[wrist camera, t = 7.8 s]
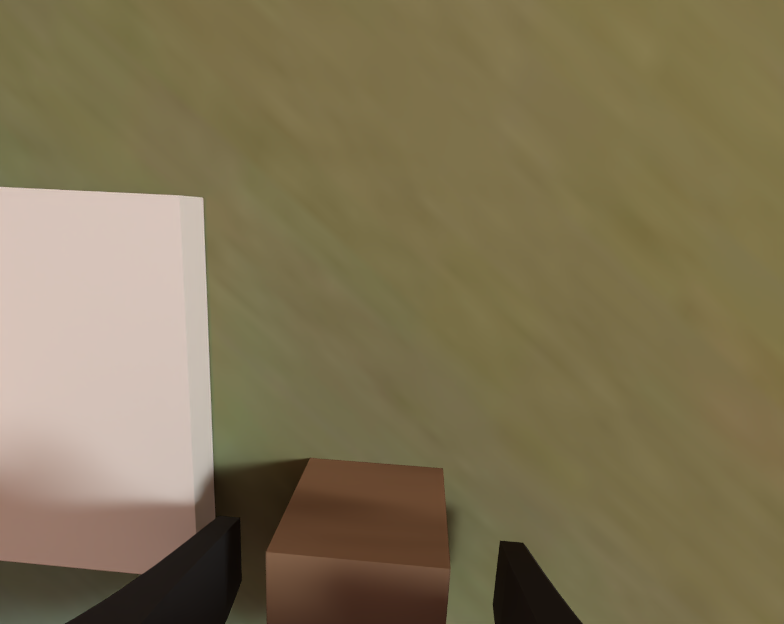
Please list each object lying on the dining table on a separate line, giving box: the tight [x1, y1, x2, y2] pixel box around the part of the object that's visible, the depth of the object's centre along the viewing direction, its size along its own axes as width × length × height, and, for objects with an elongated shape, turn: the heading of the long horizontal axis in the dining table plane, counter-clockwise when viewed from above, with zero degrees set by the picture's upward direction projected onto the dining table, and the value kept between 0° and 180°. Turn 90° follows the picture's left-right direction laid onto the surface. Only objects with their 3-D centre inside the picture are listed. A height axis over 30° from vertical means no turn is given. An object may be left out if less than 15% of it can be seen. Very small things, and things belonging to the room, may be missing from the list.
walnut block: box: [266, 458, 450, 624], centre depth 12 cm, size 4×4×4 cm
